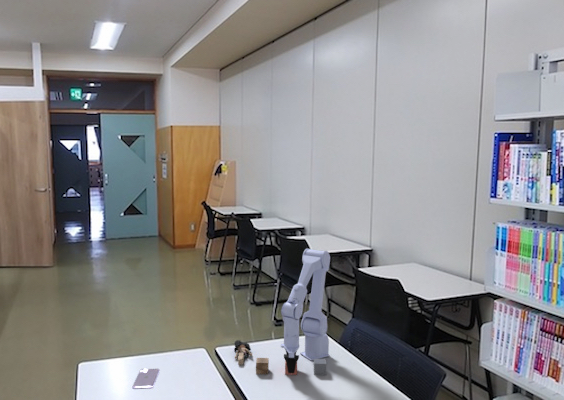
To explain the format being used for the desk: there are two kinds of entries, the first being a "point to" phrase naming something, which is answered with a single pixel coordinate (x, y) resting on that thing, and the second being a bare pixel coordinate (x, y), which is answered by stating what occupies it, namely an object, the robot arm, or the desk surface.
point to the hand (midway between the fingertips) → (291, 368)
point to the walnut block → (262, 365)
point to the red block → (287, 370)
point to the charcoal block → (319, 366)
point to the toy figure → (241, 351)
